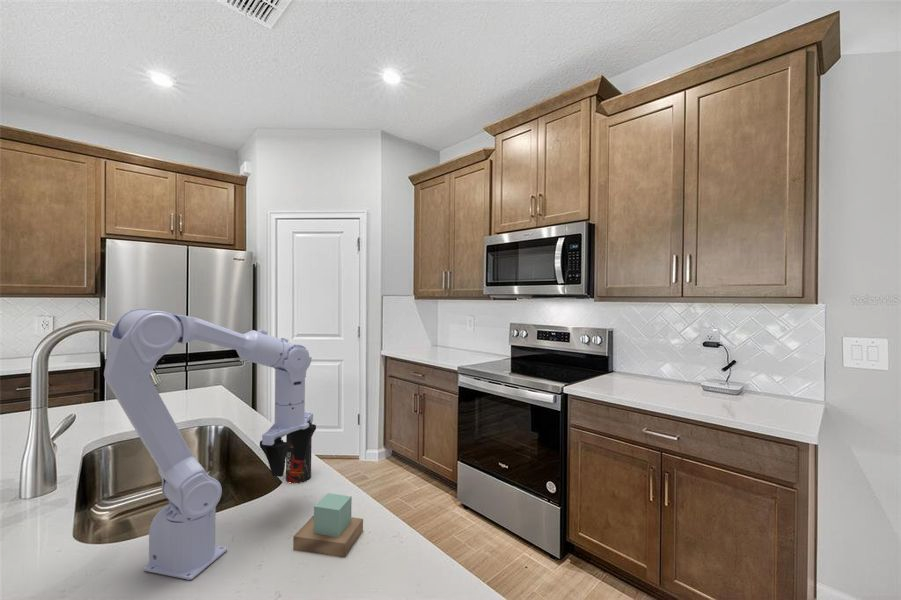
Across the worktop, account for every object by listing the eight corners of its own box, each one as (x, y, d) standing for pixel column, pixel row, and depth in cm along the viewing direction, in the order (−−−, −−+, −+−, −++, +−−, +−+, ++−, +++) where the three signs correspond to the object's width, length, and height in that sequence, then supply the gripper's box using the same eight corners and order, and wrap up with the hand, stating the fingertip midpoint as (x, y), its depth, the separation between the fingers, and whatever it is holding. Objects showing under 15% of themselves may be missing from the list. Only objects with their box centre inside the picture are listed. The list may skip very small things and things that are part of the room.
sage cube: (313, 533, 74) (313, 506, 74) (327, 518, 79) (327, 493, 79) (338, 537, 73) (338, 510, 73) (351, 522, 78) (351, 496, 77)
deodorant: (315, 474, 103) (316, 416, 102) (301, 485, 97) (302, 423, 97) (295, 471, 104) (296, 413, 104) (280, 481, 98) (281, 420, 98)
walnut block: (293, 552, 73) (293, 536, 73) (315, 527, 81) (316, 512, 81) (344, 560, 71) (345, 543, 71) (362, 533, 79) (363, 518, 79)
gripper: (285, 413, 75) (285, 486, 75) (325, 394, 89) (325, 455, 89) (252, 410, 76) (251, 481, 76) (297, 392, 90) (296, 452, 91)
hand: (289, 467), depth 83 cm, fingers open, 7 cm apart
